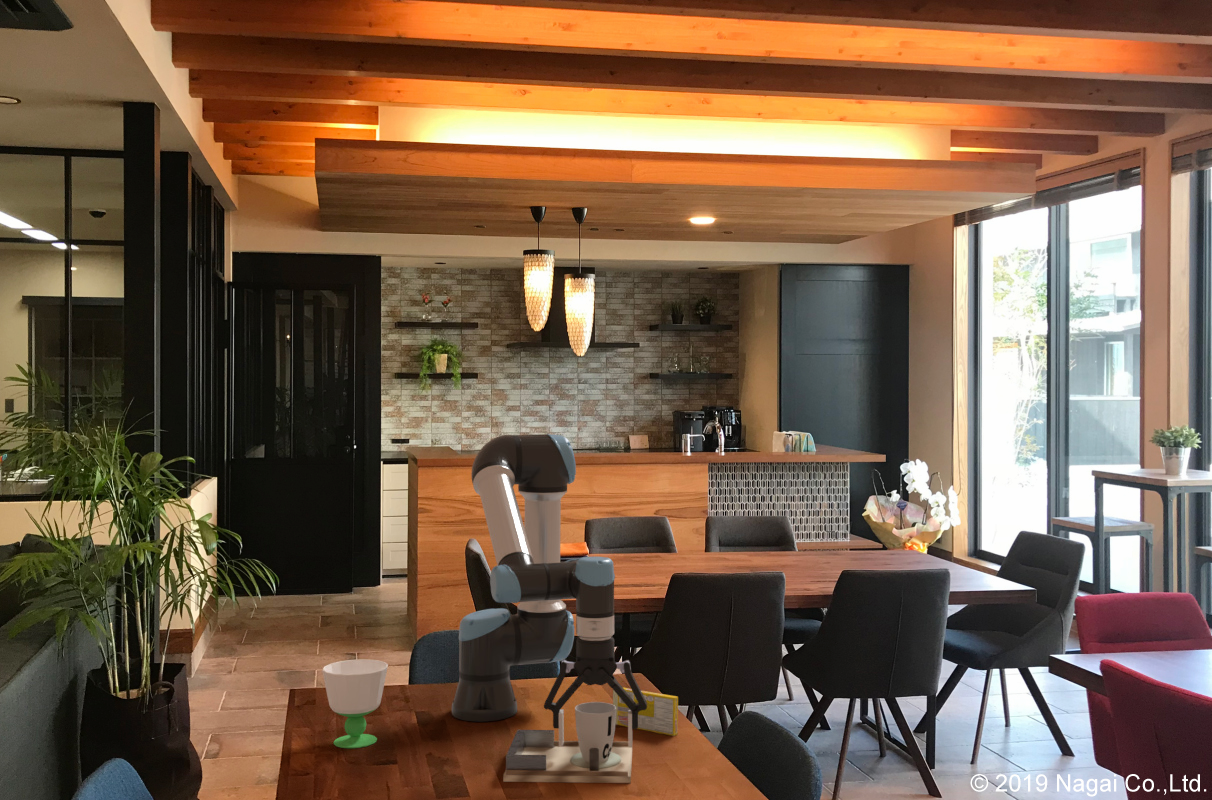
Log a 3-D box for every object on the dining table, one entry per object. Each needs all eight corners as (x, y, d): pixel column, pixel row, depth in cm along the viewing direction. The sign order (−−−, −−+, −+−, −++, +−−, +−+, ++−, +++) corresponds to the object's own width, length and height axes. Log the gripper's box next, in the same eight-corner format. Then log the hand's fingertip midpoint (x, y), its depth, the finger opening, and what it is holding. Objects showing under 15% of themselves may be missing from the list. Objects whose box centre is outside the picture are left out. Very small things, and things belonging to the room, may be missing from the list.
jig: (503, 781, 190) (503, 753, 190) (516, 750, 208) (516, 724, 208) (630, 783, 189) (630, 755, 189) (632, 751, 207) (632, 725, 207)
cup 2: (611, 767, 193) (611, 714, 193) (570, 764, 195) (570, 712, 195) (619, 753, 201) (619, 703, 201) (580, 750, 203) (580, 700, 203)
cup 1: (333, 731, 221) (333, 659, 221) (395, 731, 220) (395, 659, 221) (313, 752, 207) (313, 674, 207) (379, 752, 207) (379, 675, 207)
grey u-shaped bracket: (506, 773, 190) (506, 756, 191) (517, 745, 207) (517, 729, 207) (546, 773, 190) (546, 756, 190) (554, 745, 206) (554, 730, 207)
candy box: (679, 734, 218) (678, 696, 218) (674, 737, 216) (673, 698, 216) (617, 722, 227) (617, 685, 227) (611, 724, 225) (611, 687, 226)
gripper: (530, 640, 195) (530, 750, 195) (658, 641, 194) (659, 751, 194) (534, 632, 203) (534, 738, 202) (658, 632, 202) (659, 739, 201)
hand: (595, 745), depth 198 cm, fingers open, 13 cm apart
